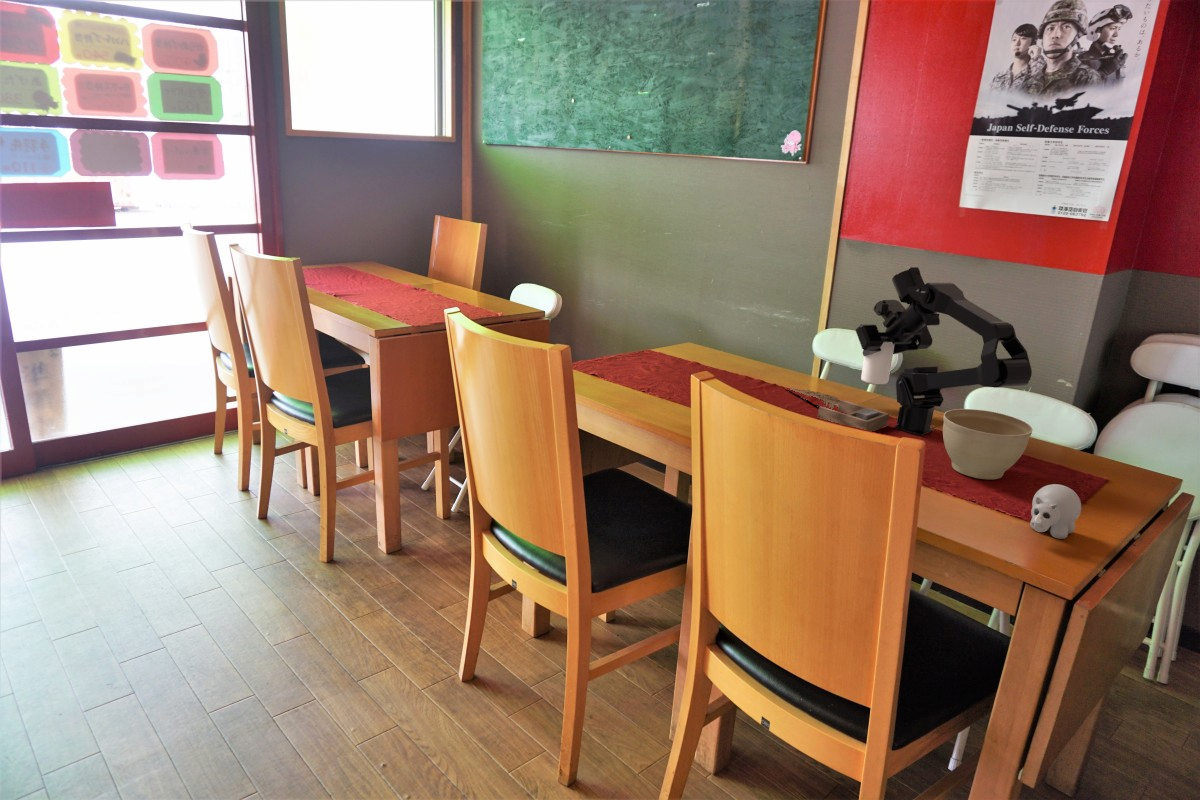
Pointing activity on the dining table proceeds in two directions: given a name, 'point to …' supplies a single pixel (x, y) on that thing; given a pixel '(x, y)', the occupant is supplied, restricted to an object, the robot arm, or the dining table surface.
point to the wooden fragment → (820, 397)
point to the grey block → (867, 414)
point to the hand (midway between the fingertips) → (875, 354)
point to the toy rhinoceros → (1055, 510)
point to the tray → (853, 416)
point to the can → (878, 365)
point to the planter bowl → (984, 441)
